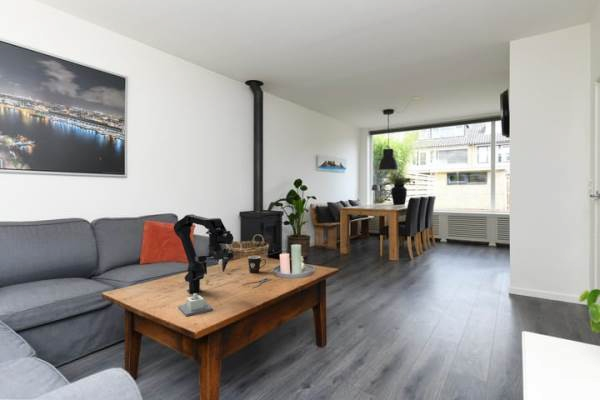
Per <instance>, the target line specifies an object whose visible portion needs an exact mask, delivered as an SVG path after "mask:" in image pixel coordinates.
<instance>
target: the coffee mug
mask: <svg viewBox="0 0 600 400" xmlns="http://www.w3.org/2000/svg"><path fill="white" fill-rule="evenodd" d="M247 261H248V270H249V274H258V273H260V269H262V268H263V267H265V265H266V263H267V260H266V259H262V258H261V256H259V255H251V256H248V257H247ZM262 261H264V264H263V265H262V266H261V262H262Z"/></svg>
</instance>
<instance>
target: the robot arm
mask: <svg viewBox="0 0 600 400" xmlns="http://www.w3.org/2000/svg"><path fill="white" fill-rule="evenodd" d="M194 224H195V225H199V226H202V227H204V228H205V229H207V231H206V232H205V234H206V235H208V244H207V247H208V253H207V255H206V254H204V253H203V254H197V253H196V251H195V247H194V244H193V241H192V238H191V232H192V227H193V226H194ZM173 231H174V233H175V235H176V236H177V237H178V238H179V239H180V241H181V243H182V244H181V245H182V247H183V250H184V253H185V256H186V260H187V263H188V265H187V266H188V267H187V274H186V275H185V276H184V281H185V282H186V283H187V282H188V289H186V291H187V293H189V294H190V295H191V294H195V293H197V294H198V293H201V292H203V290H202V289H201V280H203V279H204V278H205V275H208V268H207V264H208V261H207V260H212V259H214V260H216V261H219V260H221V269H222V272H225V271H226V267H227V265H228V262H229V261H231V260H232V259H234V257H235V254H234V252H232V251H230V250H229V249H228V248H224V249H223V248H222V245H229V246H230V245H231V244H233V242H234V235H233V234H232V233H231V230H227V228H226V227H225V225H224V222H223V221H222V219H221V218H218V217H215V218H212V217H211V218H210V217H209V218H208V217H203V216H200V215H195V214H192V213H191V214H186V215H184V216H183V218H182V217H181V218H180V219H179V220H178V221H176V223H174V226H173Z"/></svg>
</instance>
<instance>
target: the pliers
mask: <svg viewBox="0 0 600 400" xmlns="http://www.w3.org/2000/svg"><path fill="white" fill-rule="evenodd" d="M271 280H272V279H271V278H268V277H266V278H263V279H260V280H257V281H252V282H246V283H243V284H241V286H242V287H243V286H246V285H248V284H257V283H258V285H255V286H253V287H252V289H255V288H258V287H260V286H261V285H262V284H264V283H266V282H269V281H271Z"/></svg>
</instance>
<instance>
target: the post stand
mask: <svg viewBox="0 0 600 400" xmlns="http://www.w3.org/2000/svg"><path fill="white" fill-rule="evenodd" d="M197 296H198V292H197V293H192V297H193V300H196V299H197ZM177 309H178V310H179V311H180V312H181V313H182V314H183V315H184V317H189V316H193V315H198V314H202V313H207V312H211V311H213V310H214V309H213V307H212V306H211V305H210V304H208V303H207V302H206V301H205V300H204V308H200V309H195V310H190V309H189V308H188V307H187V303H186V304H181V305H178V306H177Z"/></svg>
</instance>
